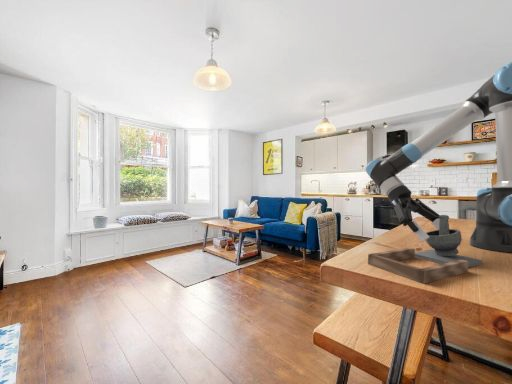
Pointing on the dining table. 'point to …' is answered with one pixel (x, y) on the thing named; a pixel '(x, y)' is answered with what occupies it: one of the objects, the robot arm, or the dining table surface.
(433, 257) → the slate mat
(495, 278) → the dining table surface
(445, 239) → the mortar and pestle
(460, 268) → the rectangular wooden frame
